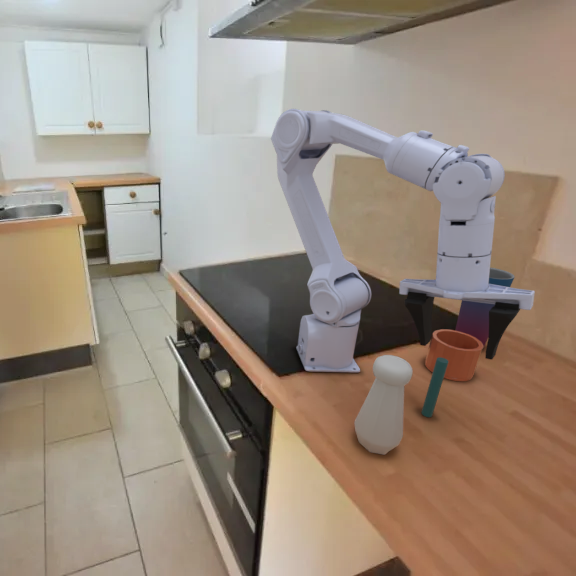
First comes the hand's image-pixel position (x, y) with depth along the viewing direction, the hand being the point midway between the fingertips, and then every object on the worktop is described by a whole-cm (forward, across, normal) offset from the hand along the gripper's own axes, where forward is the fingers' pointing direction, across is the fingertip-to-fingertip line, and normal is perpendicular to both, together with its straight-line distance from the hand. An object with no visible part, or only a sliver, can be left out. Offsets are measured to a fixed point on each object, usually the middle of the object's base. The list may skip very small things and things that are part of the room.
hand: (456, 349), depth 53 cm
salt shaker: (+10, -6, -13) cm, 18 cm away
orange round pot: (+10, -4, +14) cm, 18 cm away
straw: (+11, -3, -2) cm, 11 cm away
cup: (+10, -4, +27) cm, 29 cm away
